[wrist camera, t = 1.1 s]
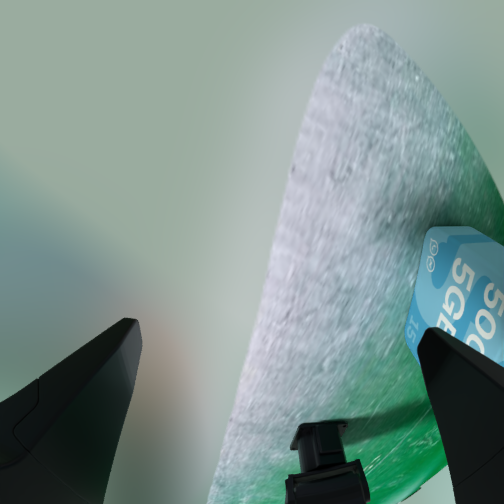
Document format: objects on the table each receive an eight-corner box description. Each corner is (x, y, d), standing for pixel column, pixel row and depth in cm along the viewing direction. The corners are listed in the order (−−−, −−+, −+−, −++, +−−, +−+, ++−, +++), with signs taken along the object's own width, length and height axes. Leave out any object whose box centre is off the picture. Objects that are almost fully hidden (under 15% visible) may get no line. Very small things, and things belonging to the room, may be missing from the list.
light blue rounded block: (425, 221, 21) (525, 292, 10) (462, 221, 21) (557, 282, 10) (400, 336, 26) (453, 427, 15) (435, 330, 26) (491, 410, 15)
